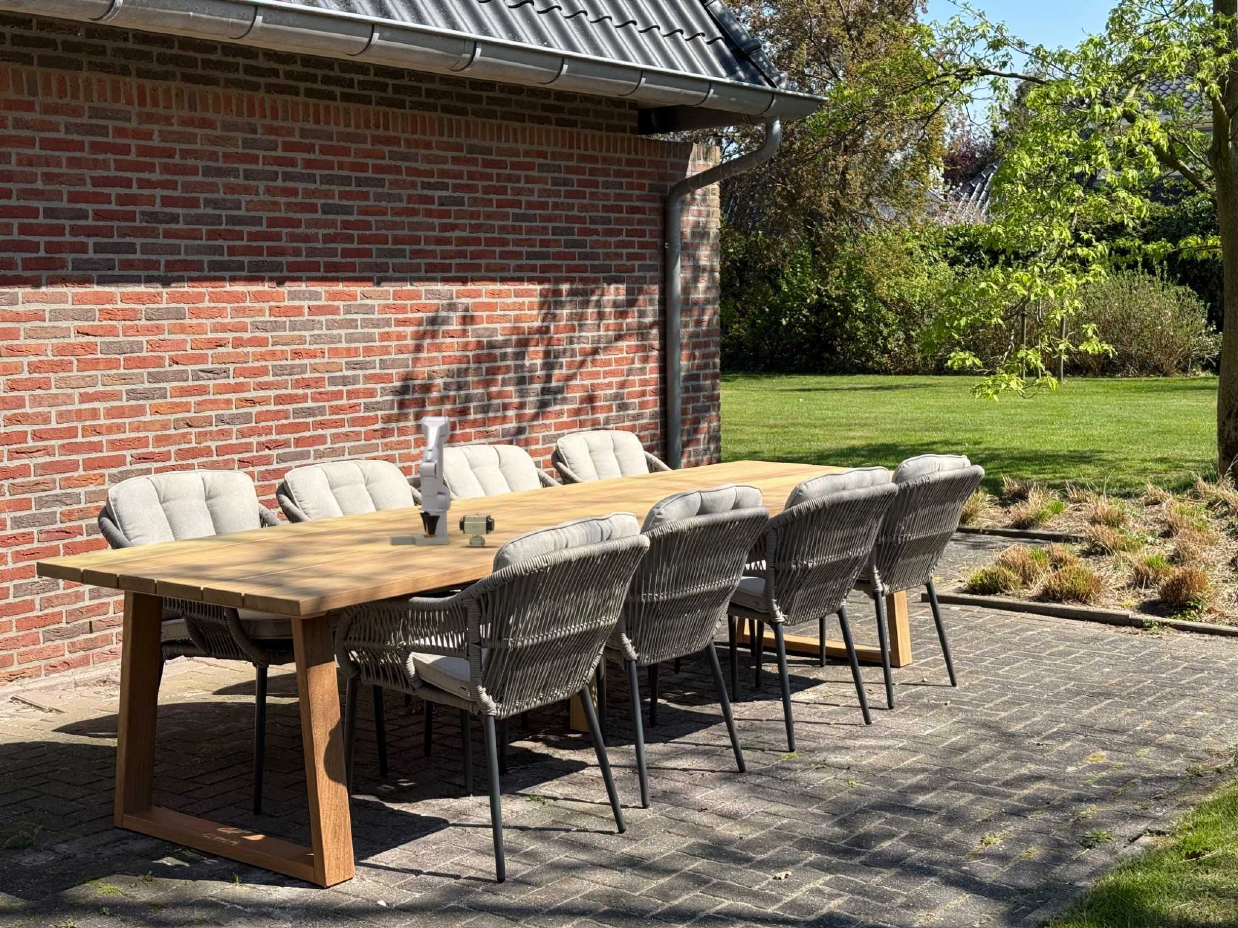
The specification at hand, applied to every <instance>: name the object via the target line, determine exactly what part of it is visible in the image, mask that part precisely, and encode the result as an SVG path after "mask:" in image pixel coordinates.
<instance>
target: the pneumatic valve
mask: <svg viewBox="0 0 1238 928" xmlns="http://www.w3.org/2000/svg"><path fill="white" fill-rule="evenodd" d="M458 525H459V527H458V528H459V531H462V534H463V535H472V537H470V538H469V540H468V543H469V545H470V547H471V548H481V547H483V546H485V544H486V539H485V538H484V536H483V535H490V534H491V533H492V532H494V530H495V526H496V524H495V519H494V518H492V515H491V514H479V512H475V514H465V515H463V516H462V517H461V518H460V519H459V524H458Z"/></svg>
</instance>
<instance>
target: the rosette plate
mask: <svg viewBox="0 0 1238 928" xmlns="http://www.w3.org/2000/svg"><path fill="white" fill-rule="evenodd" d="M450 538H451V537H450V535H449V536H447V535H446V534H444V533H435V536H434V537H426V534H425V533H412V534H410V535H402V536H401V535H399V536H396V535H395V536H389V544H390V545H391V546H406V545H414V546H416V547H417V546H421V547H422V546H439V545H440V546H442V545H450V543H451V541H450V540H451V539H450Z"/></svg>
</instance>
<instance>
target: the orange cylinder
mask: <svg viewBox="0 0 1238 928" xmlns="http://www.w3.org/2000/svg"><path fill="white" fill-rule="evenodd" d="M434 536H435V535H429V534H428V529H427V523H426V537H434Z"/></svg>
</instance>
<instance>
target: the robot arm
mask: <svg viewBox="0 0 1238 928" xmlns="http://www.w3.org/2000/svg"><path fill="white" fill-rule="evenodd" d="M450 428H451V419H450V417H449V416H448V415H446V416H423V417H422V418H421V431H422V434H423V437H424V438H425V440H427V443H426V444H427V445H426V446H425V447H424V449H423V453H422V459H421V463H419V467H418V473H419V480H420V481H419V482H420V485H421V486H420V493H421V499H420V500H421V505H420V506H421V507H418V508H417V510H418V511H422V512H419V516H420V517H421V520H422V523H423V529H424V533H423V534H426V523H427V529H428V534H429V535H435V533H444V534H446V535H447V536H449V537H450V535H451V534H450V533H449V532H448V511H450V509H451V506H452V505H451V504H452V498H451V497H452V496H451V490H450V488H448V487H447V486H446V485H445V484H444V445H445V441H447V440H449V439H450V436H451V433H450V431H451V429H450Z"/></svg>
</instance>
